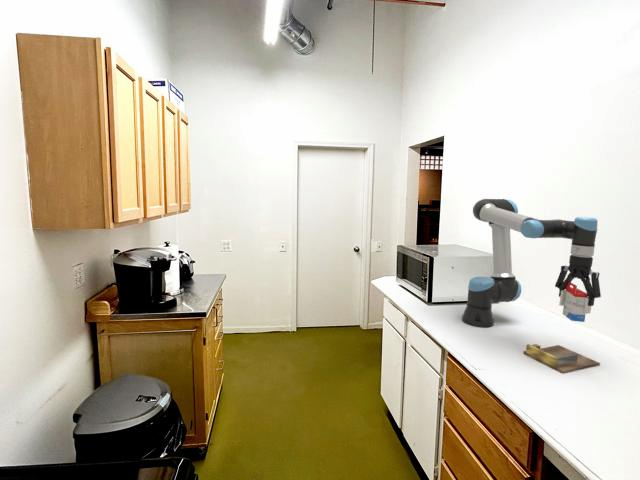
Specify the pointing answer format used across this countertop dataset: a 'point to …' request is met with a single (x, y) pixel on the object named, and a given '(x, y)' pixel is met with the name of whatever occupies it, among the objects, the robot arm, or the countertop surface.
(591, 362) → the board
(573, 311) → the ink box
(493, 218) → the robot arm
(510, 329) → the countertop surface
